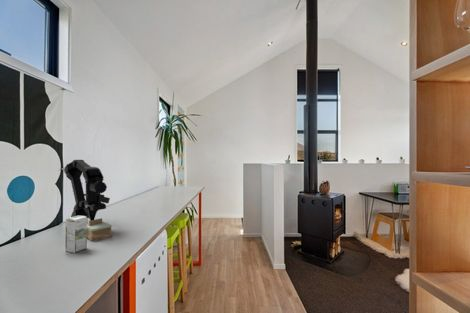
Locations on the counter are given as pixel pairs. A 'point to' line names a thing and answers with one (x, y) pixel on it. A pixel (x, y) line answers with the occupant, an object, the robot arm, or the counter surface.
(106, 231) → the toolbox
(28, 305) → the counter surface
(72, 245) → the syrup box
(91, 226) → the lid
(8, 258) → the counter surface
